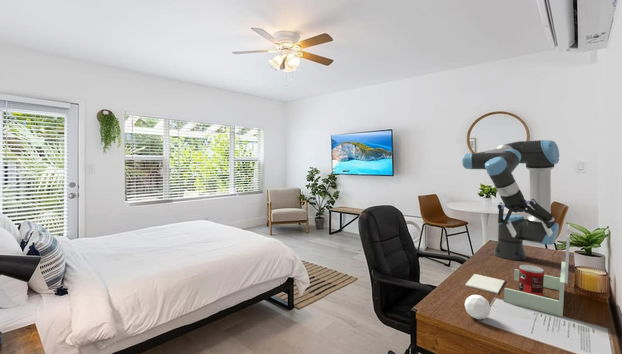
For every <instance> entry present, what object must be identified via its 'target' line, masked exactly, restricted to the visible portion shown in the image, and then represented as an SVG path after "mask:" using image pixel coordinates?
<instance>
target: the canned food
mask: <svg viewBox="0 0 622 354" xmlns="http://www.w3.org/2000/svg"><path fill="white" fill-rule="evenodd" d="M518 270H519V281H518V291H521V292H526V293H530V294H534V295H538V296H542V297H544V287H543V283H544V275H545V270H544V268H541V267H539V266H536V265H532V264H520V265H519V268H518Z"/></svg>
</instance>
